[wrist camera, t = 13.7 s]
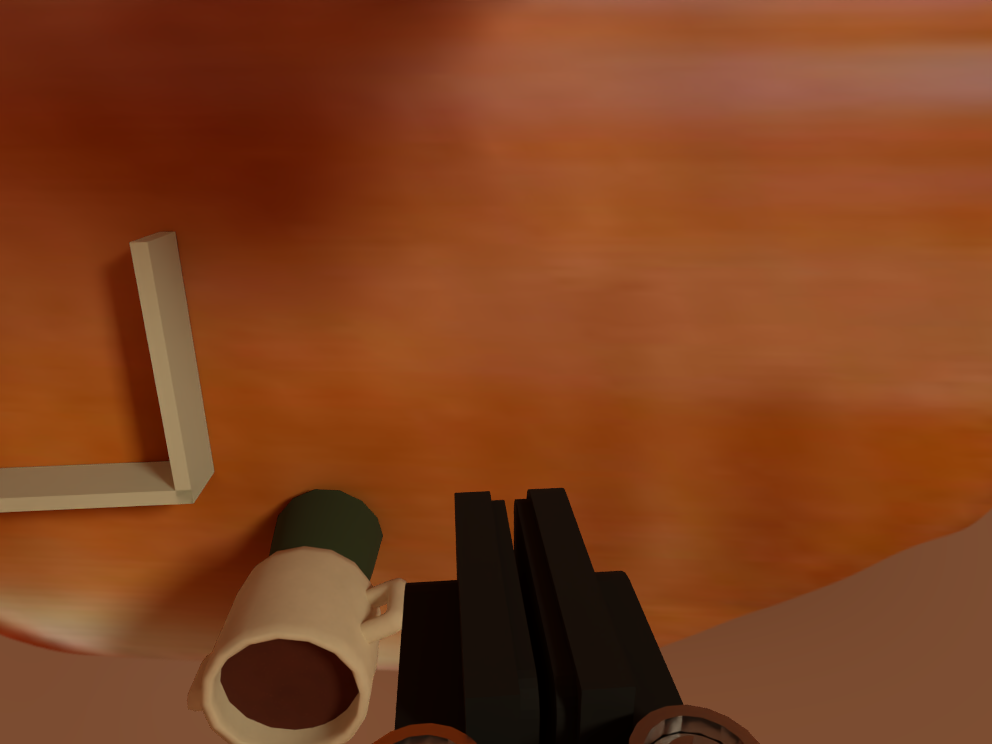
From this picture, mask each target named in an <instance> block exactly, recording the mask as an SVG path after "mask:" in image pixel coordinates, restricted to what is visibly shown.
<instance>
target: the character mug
mask: <svg viewBox="0 0 992 744" xmlns="http://www.w3.org/2000/svg"><path fill="white" fill-rule="evenodd" d="M382 537H383V534H382V531H381V528H380V525H379V522H378V519H377V517H376V516H375V515H374V514H373V513H372V511H371V510H370V509H369V508H368V507H367V506H366V505H365V504H364V503H363V502H362V501H361V500H359V499H356V498H354V497H352V496H350V495H348V494H346V493H344V492H342V491H339V490H319V489H315V490H312V491H310V492H308V493H305V494H303V495H300V496H298V497H295V498H293V499H292V500H291V502H290V503H289V504H288V505H287V506H286V507H285V509H284V510H283V511H282V512H281V513H280V514H279V516H278V518H277V523H276V527H275V531H274V536H273V540H272V545H271V549H270V554H269V557H268V558H266V559H265V560H264V561H262V562H261V563H259V564H258V565H256V566H255V567H254V569H253V570H252V571H251V573H250V574H249V576H248V578H247V579H246V581H245V582H244V584H243V585H242V587H241V588H240V590H239V592H238V593H237V595H236V598H235V600H234V602H233V605H232V607H231V609H230V612H229V614H228V616H227V619H226V621H225V623H224V626H223V628H222V630H221V632H220V635H219V637H218V639H217V642H216V644H215V646H214V649H213V651H212V653H211V654H209V655H207V656H206V658H205V659H204V660H203V662H202V663H201V666H200V668H199V670H198V672H197V674H196V677H195V679H194V681H193V683H192V686H191V688H190V690H189V693H188V698H187V702H188V709H190V710H193V711H203V712H204V714H205V717H206V719H207V721H208V723H209V726H210V728H211V729H212V730H213V731H214V732H215V733H217V734H218V735H219V736H220V737H221V738H223V739H224V740H225V741H226V742H228V743H229V744H345V743H346V742H347V741H348V740H350V739H351V738H352V737H353V736H354V734H355V733H356V731H357V730H358V728H359V727H360V725H361V723H362V722H363V721H364V719H365V718H366V714H367V710H368V705H369V700H370V694H371V688H372V682H373V677H374V674H375V671H376V667H377V658H378V649H379V640H380V639H383V638H385V637H388V636H390V635H393V634H395V633H397V632H398V631H400V630H402V618H403V604H404V590H405V584H406V583H407V582H406V581H405V580H403V579H401V578H396V579H392V580H389V581H387V582H384V583H382V584H379V585H377V586H374V587H373V586H372V584H371V582H370V579H371V576H372V573H373V569H374V566H375V562H376V559H377V555H378V551H379V548H380V544H381V541H382ZM385 604H387V610H386V612H385V613H384V614H382V615H381V612H380V608H379V607H380V606H383V605H385Z"/></svg>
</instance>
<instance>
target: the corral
mask: <svg viewBox="0 0 992 744" xmlns="http://www.w3.org/2000/svg"><path fill="white" fill-rule="evenodd" d="M129 244H130V249H131V254H132V260H133V265H134V271H135V276H136V281H137V287H138V292H139V298H140V303H141V308H142V314H143V319H144V325H145V330H146V335H147V341H148V346H149V351H150V357H151V362H152V368H153V373H154V378H155V384H156V389H157V395H158V400H159V405H160V411H161V416H162V421H163V427H164V432H165V438H166V443H167V448H168V454H169V459H170V461H162V462H138V463H114V464H90V465H67V466H43V467H19V468H0V512H20V511H41V510H62V509H84V508H105V507H127V506H148V505H169V504H191V503H194V502H195V500H196V499H197V497H198V496H199V494H200V493H201V491H202V490H203V488H204V487H205V485H206V484H207V482H208V481H209V479H210V478H211V476H212V475H213V473H214V467H213V461H212V455H211V449H210V443H209V437H208V430H207V424H206V418H205V412H204V406H203V400H202V393H201V387H200V381H199V375H198V369H197V363H196V356H195V350H194V344H193V338H192V332H191V326H190V319H189V313H188V307H187V301H186V295H185V289H184V283H183V276H182V270H181V264H180V258H179V252H178V246H177V239H176V233H175V232H157V233H154V234H152V235H149V236H146V237H143V238H140V239H138V240H135V241H132V242H129Z"/></svg>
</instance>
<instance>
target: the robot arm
mask: <svg viewBox="0 0 992 744" xmlns="http://www.w3.org/2000/svg"><path fill="white" fill-rule="evenodd" d="M455 527H456V560H457V580H451V581H433V582H415V583H406V584H405V590H404V604H403V618H402V632H401V646H400V661H399V675H398V690H397V703H396V718H395V730H394V731H391V732H389V733H388V734H386V735H385V736H383V737H381V738H380V739H378V740H377V741H375V742H374V743H372V744H760V743H759V742H758V741H757V740H756V739H755V738H754V737H753V736H752V735H751V734H750V733H749V732H748V730H746V729H745V728H744V727H742V726H741V725H739V724H738V723H736V722H735V721H733V720H732V719H730V718H729V717H727V716H725V715H722V714H720V713H718V712H715V711H713V710H710V709H707V708H702V707H696V706H691V705H683V702H682V700H681V698H680V696H679V693H678V691H677V689H676V686H675V684H674V682H673V679H672V677H671V675H670V672H669V670H668V668H667V665H666V663H665V661H664V659H663V656H662V654H661V652H660V649H659V647H658V645H657V642H656V640H655V638H654V635H653V633H652V631H651V628H650V626H649V624H648V622H647V619H646V617H645V615H644V612H643V610H642V608H641V605H640V603H639V601H638V598H637V596H636V594H635V592H634V589H633V587H632V585H631V582H630V580H629V578H628V576H627V575H626V573H625V572H623V571H609V572H594V569H593V567H592V564H591V561H590V558H589V556H588V553H587V550H586V547H585V544H584V542H583V539H582V536H581V533H580V531H579V528H578V525H577V522H576V519H575V517H574V514H573V511H572V508H571V506H570V503H569V500H568V497H567V494H566V492H565V490H564V488H549V489H528V491H527V499H515V501H514V550H513V544H512V539H511V533H510V528H509V523H508V517H507V512H506V506H505V501H504V500H494V501H491V495H490V491H485V492H463V493H455Z"/></svg>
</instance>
